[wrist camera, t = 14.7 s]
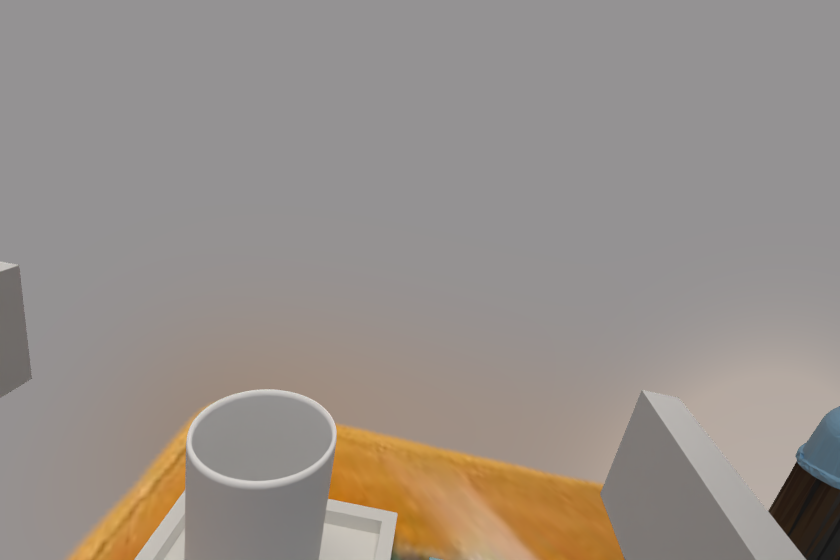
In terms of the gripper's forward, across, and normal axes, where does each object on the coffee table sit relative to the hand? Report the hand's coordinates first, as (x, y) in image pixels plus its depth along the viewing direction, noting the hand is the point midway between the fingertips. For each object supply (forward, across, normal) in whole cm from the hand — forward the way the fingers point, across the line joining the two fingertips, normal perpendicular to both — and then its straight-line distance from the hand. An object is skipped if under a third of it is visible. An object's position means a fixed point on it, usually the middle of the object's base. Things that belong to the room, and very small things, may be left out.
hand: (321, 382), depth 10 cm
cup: (+14, -6, -29) cm, 33 cm away
